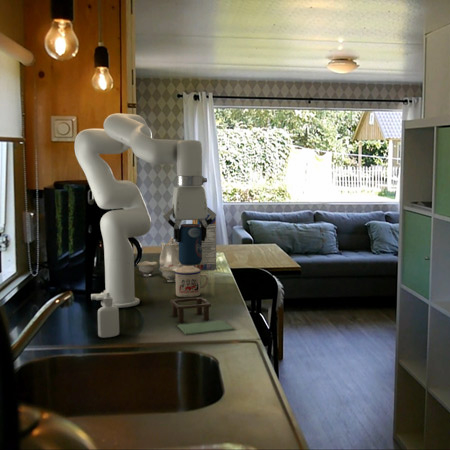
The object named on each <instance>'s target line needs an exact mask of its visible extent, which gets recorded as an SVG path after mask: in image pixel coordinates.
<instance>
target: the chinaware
mask: <svg viewBox="0 0 450 450" xmlns="http://www.w3.org/2000/svg"><path fill="white" fill-rule="evenodd" d="M160 245H161V251H160V255H159V268H158V271H159V273H160V274H161V276H162V278H164V279H166V280H167V283H176V273H175V270H176V269H179V268H181V267H182V266H184V265H181V263H180V262H179V242H176V240H175V239H174V236H173V237H172V236H171V237H170V239H169V240H168V241H167V242H166V243H164V241H163V242H160ZM138 262H139V261H138ZM136 265H137V267H138V270H139V272H140V273H141V274H143V275H142V276H143V277H151V276H152V274H153V273H154V272H155V271H156V268H157V265H158V262H157V261H151V262H150V261H148V260H144V261H142V262H139V263H138V264H137V263H136Z"/></svg>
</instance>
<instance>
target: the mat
mask: <svg viewBox="0 0 450 450" xmlns="http://www.w3.org/2000/svg"><path fill="white" fill-rule="evenodd" d="M176 326H177V327H178V328H179V329H180V331H182V332H183V334H184V335H186V336H187V335H195V334H196V335H197V334H206V333H215V332H227V331H234V330H235V328H234V327H233V326H231V325H230V324H229V323H228V322H226V321H225V320H224V319H222V320H212V321H204V322H201V321H200V322H192V323H180V324H177V325H176Z"/></svg>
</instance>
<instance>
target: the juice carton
mask: <svg viewBox="0 0 450 450" xmlns="http://www.w3.org/2000/svg"><path fill="white" fill-rule="evenodd" d="M209 216H210V214H209V213H208V214H207V218H205V221H206V220H207V219H208V218H209ZM191 221H192V223H191V224H199V225H200V227H201V223H200V222H199V220H191ZM194 267H195V268H198V269H200V271H214V270H217V216H216V217H215V218H214V219H213V220H212V222H211V223H210V224H209V225H208V227H207V228H206V238H205V241H202V261H201V263H200V264H199V265H195V266H194Z"/></svg>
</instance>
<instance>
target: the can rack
mask: <svg viewBox="0 0 450 450" xmlns="http://www.w3.org/2000/svg"><path fill="white" fill-rule="evenodd" d="M186 302H196V304H190V305H189V304H187V305H183V304H178V303H186ZM169 303H170V304H171V314H172V315H171V316H172V318H173V317H174V318H175V317H176V318H177V317H178V319H177V320H178V321H177V322H178V323H179V324H184V322H185V315H184V314H185V313H184V312H185V311H184V310H186V309H196V314H197V315H202V314H203V321H209V320H210V307H212V304H211V302H209V301H208V300H207V299H205V298H204V297H202V296H200V297H199V296H197V297H188V298H176V299H169Z"/></svg>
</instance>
